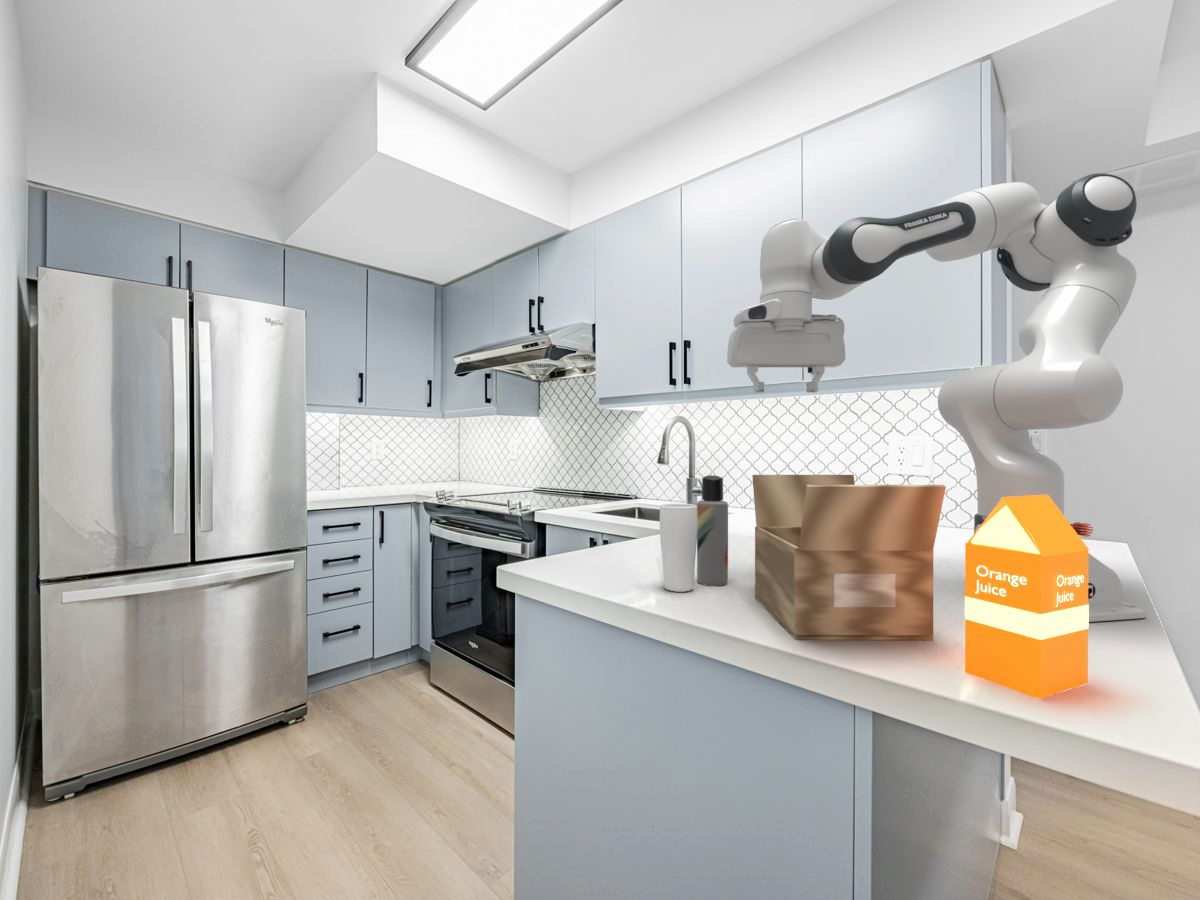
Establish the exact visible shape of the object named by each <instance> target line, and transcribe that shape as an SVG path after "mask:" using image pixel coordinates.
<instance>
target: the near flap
mask: <svg viewBox="0 0 1200 900" xmlns="http://www.w3.org/2000/svg"><path fill="white" fill-rule="evenodd" d="M946 488H947V486H946V485H944V484H855V485H806V494H805V502H804V510H803V519H802V527H801V535H800V543H799V549H800V551H933V552H934V547H935V543H936V537H937V533H938V527H939V522H940V519H941V513H942V508H943V505H944V504H943V503H944V498H945V493H946Z"/></svg>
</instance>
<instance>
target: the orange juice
mask: <svg viewBox="0 0 1200 900" xmlns="http://www.w3.org/2000/svg"><path fill="white" fill-rule="evenodd" d="M1001 498H1002V499H1001V501H1000V502H999V503H998V504H997V506H996V507H995V508H994V510H993V511H992V512H991V513H990V515H989V516H988V517H987V518H986V520H985V521H984V522H983V523H982V525H981V526H980V527H979V528H978V530H977V531H976V532H975V534H974V533H973V534H972V536H971V537H970V538H969V540H968V541H967V542H965V544H964V547H965V550H964V551H965V558H964V559H965V562H964V563H965V566H964V567H965V569H964V570H965V576H964V578H965V579H964V580H965V582H964V585H965V587H964V589H965V594H964V622H965V623H964V626H965V627H964V633H965V634H964V635H965V636H964V637H965V638H964V639H965V640H964V653H965V654H964V656H965V657H964V665H965V666H964V672H965V674H969V675H972V676H975V677H978V678H980V677H981V678H980V679H983V678H984V679H983V680H986V681H988V680H989V682H991V681H992V682H991V683H994V682H995V683H994V684H997V683H998V684H997V685H999V684H1001V685H1000V686H1002V685H1003V686H1002V687H1005V688H1008V689H1010V690H1013V689H1014V690H1013V691H1016V692H1020V693H1021V692H1022V694H1025V695H1028V696H1029V697H1032V696H1033V697H1032V698H1035V697H1036V698H1035V699H1038V700H1043V699H1046V698H1045V697H1047V696H1050V695H1053V694H1056V693H1059V692H1061V691H1064V690H1067V689H1070V688H1074V687H1077V686H1080V685H1083V684H1086V683H1088V684H1089V626H1090V622H1089V604H1088V553H1089V551H1090V549H1089V548H1088V546H1087V544H1085V542H1084V540H1083V539H1082V538H1081V536H1080V535H1078V534H1077V533H1076V531H1075V530H1074V529H1073V527H1072V526H1071V525H1070V524H1071V523H1070V522H1069V521H1068V520H1067V518H1066V517H1065V515H1064V516H1063V514H1062V513H1061V512H1060V510H1059V509H1058V508H1057V506H1056V505H1055V504H1054V502H1053V501H1052V500H1051V498H1050V497H1049V496H1048V495H1032V496H1015V497H1001ZM1069 523H1070V524H1069ZM1059 694H1060V693H1059ZM1056 695H1057V694H1056ZM1053 696H1054V695H1053ZM1050 697H1051V696H1050ZM1042 698H1043V699H1042ZM1047 698H1048V697H1047Z"/></svg>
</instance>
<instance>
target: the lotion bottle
mask: <svg viewBox="0 0 1200 900" xmlns="http://www.w3.org/2000/svg"><path fill="white" fill-rule="evenodd" d="M696 505H697V510H698V532H697V544H696V575H697V576H696V578H697V580H696V581H697V583H699V584H701V585H704V584H705V586H711V585H713V587H714V586H716V587H717V586H718V587H719V585H720V586H724V585H727V584H728V582H729V503H728V501H724V477H721V476H719V475H705V476H704V477H701V500H699V501H697V503H696Z"/></svg>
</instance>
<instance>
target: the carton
mask: <svg viewBox="0 0 1200 900" xmlns="http://www.w3.org/2000/svg"><path fill="white" fill-rule="evenodd" d="M800 535H801V527H756V526H755V527H754V599H755V600H756V601H757V602H758V603H759V604H760V605H761V606H762V607H763V608H764V609H765V610H766V611H767V612H768V613H769V614H770V615H771V616H772V617H773V618H774V619H775V621H777V622H778V623H779V624H780V625H781V626H782V627H783V628H784V629H785V631H787V632H788V634H790V635H791V636H792V637H793V638H794V639H795V640H829V641H830V640H837V641H838V640H842V641H843V640H845V641H846V640H853V641H855V640H857V641H858V640H859V641H860V640H861V641H862V640H865V641H867V640H869V641H871V640H872V641H873V640H874V641H875V640H876V641H879V640H880V641H881V640H882V641H885V640H889V641H890V640H891V641H895V640H898V641H906V640H907V641H911V640H912V641H933V640H934V550H933V551H800V549H799V543H800Z"/></svg>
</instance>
